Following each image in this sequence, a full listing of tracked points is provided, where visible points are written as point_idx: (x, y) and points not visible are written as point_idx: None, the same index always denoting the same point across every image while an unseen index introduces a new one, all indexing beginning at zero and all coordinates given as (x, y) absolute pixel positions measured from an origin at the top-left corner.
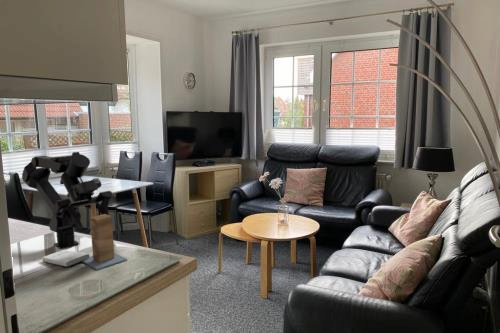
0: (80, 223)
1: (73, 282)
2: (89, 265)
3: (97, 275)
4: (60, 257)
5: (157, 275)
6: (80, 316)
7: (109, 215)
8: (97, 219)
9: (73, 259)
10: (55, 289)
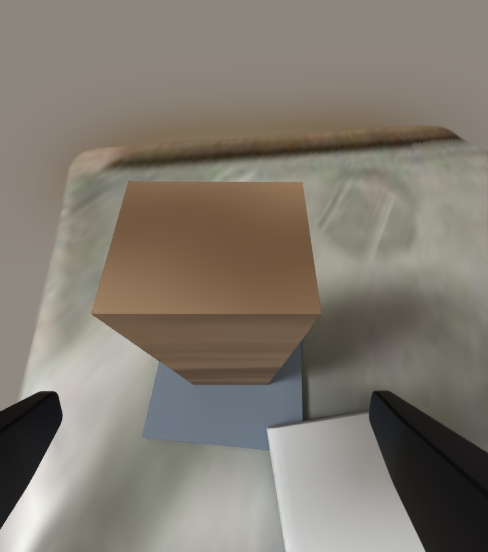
0: (405, 413)
1: (391, 272)
2: (300, 352)
3: (314, 258)
4: (406, 543)
5: (208, 150)
6: (416, 135)
7: (120, 214)
8: (294, 184)
9: (360, 415)
10: (448, 270)
